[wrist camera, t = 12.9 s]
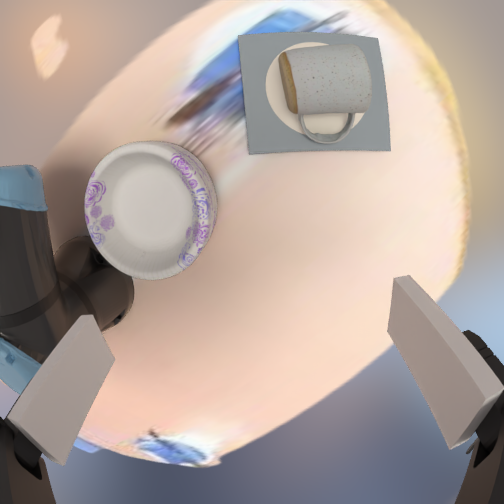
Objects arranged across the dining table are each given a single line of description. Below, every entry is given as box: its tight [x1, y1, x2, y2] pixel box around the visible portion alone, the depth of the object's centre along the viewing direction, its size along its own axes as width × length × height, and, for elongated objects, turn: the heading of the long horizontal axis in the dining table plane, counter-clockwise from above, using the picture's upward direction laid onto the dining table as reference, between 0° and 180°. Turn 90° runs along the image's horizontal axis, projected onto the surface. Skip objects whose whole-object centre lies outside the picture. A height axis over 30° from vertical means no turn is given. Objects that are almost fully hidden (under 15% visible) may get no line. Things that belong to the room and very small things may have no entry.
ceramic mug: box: [278, 44, 372, 144], centre depth 24 cm, size 11×8×8 cm
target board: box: [238, 32, 391, 154], centre depth 28 cm, size 17×15×2 cm
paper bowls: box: [84, 141, 217, 280], centre depth 31 cm, size 15×15×8 cm
